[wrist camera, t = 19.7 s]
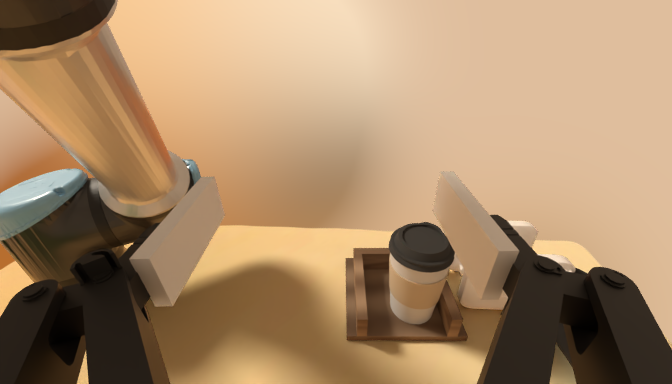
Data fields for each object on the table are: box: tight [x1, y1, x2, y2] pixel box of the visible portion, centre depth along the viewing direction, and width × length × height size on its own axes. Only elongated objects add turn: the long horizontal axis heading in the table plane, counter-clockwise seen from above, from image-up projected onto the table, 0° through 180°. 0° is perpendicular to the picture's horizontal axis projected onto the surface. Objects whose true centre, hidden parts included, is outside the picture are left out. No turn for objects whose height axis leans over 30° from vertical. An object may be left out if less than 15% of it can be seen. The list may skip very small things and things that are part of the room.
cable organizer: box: [449, 221, 576, 310], centre depth 47 cm, size 15×11×12 cm
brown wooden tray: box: [346, 248, 468, 341], centre depth 48 cm, size 16×18×5 cm
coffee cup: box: [389, 222, 455, 324], centre depth 42 cm, size 9×9×15 cm
